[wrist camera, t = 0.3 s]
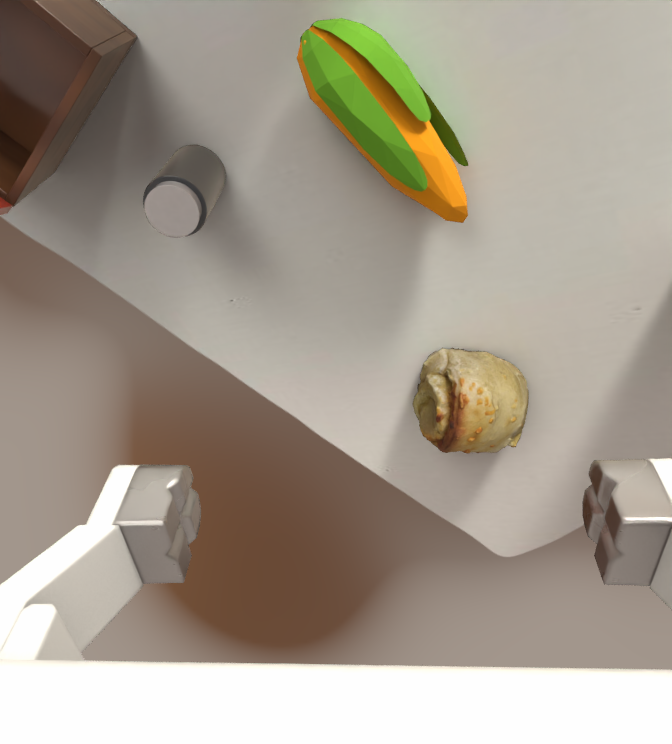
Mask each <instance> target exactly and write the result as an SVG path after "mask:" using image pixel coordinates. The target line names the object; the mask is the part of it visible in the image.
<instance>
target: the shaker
mask: <svg viewBox="0 0 672 744" xmlns="http://www.w3.org/2000/svg"><path fill="white" fill-rule="evenodd" d="M225 180H226V174H225V169H224V166H223V164H222V162H221V160H220V159H219V158H218V156H217V155H216V154H215V153H214V152H212V151H211V150H209V149H207V148H205V147H203V146H200V145H187V146H184V147H181V148H180V149H178V150H177V151H176V152H175V153H174V154H173V155H172V157H171V158H170V159H169V160H168V161H167V163H166V164H165V165H164V166H163V168H162V169H161V170H160V171H159V173H158V174H157V175H156V176H155V178H154V179H153V180H152V181H151V182H150V184H149V185H148V186H147V188H146V190H145V192H144V196H143V205H144V209H145V214H146V217H147V219H148V221H149V223H150V224H151V225H152V226H153V227H154V228H155V229H156V230H157V231H158V232H160V233H162V234H163V235H166V236H169V237H177V238H178V237H184V236H189V235H192V234H194V233H196V232H197V231H199V230H200V229H201V228H202V226H203V225H204V223H205V221H206V219H207V217H208V216H209V214H210V212H211V210H212V208H213V206H214V204H215V203H216V201H217V199H218V197H219V195H220V193H221V191H222V190H223V188H224V185H225Z"/></svg>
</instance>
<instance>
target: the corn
mask: <svg viewBox="0 0 672 744" xmlns="http://www.w3.org/2000/svg"><path fill="white" fill-rule="evenodd" d="M297 60H298V63H299V66H300V69H301V72H302V75H303V78H304V81H305V84H306V87H307V90H308V93H309V97H310V99H311V100H312V101H313V102H314V103H315V104H316V105H317V106H318V107H319V108H320V109H321V110H322V111H323V113H324V114H325V115H326V116H327V117H328V118H329V119H330V120H331V121H332V122H333V123H334V124H335V126H336V127H337V128H338V129H339V130H340V131H341V132H342V133H343V134H344V135H345V136H346V137H347V138H348V140H349V141H350V142H351V143H352V144H353V145H354V146H355V147H356V148H357V149H358V150H359V151H360V153H361V154H362V155H363V156H364V157H365V158H366V159H367V160H368V161H369V162H370V163H371V164H372V165H373V167H374V168H375V169H376V170H377V171H378V172H379V173H380V174H381V175H382V176H383V177H384V178H385V179H386V181H387V182H388V183H389V184H390V185H391V186H392V187H394V188H395V189H397V190H399V191H400V192H402V193H404V194H405V195H407V196H408V197H410V198H412V199H413V200H415V201H417V202H418V203H420V204H422V205H423V206H425V207H426V208H428V209H430V210H431V211H433V212H435V213H436V214H438V215H439V216H440V217H442V218H443V219H445V220H447V221H454V222H461V223H463V222H464V220H465V219H466V217H467V216H468V212H467V198H466V194H465V191H464V188H463V185H462V182H461V180H460V177H459V174H458V171H457V168H456V166H455V164H454V162H453V160H452V159H451V157H450V155H449V154H448V152H447V150H448V151H449V153H450V154H451V155H452V156H453V157H454V159H455V160H456V161H457V162H458V163H459V164H461V165H463V166H468V162H467V160H466V157H465V155H464V153H463V151H462V148H461V146H460V144H459V142H458V140H457V138H456V136H455V134H454V132H453V131H452V129H451V128H450V126H449V125H448V124H447V122H446V121H445V119H444V118H443V116H442V115H441V113H440V112H439V111H438V109H437V108H436V106H435V105H434V103H433V102H432V100H431V99H430V98H429V96H428V95H427V94H426V93H425V91H424V90H423V89H422V88H421V87H420V85H419V84H418V83H417V81H416V79H415V78H414V76H413V74H412V73H411V71H410V69H409V68H408V66H407V65H406V64H405V63H404V61H403V60H402V59H401V58H400V57H399V56H398V54H397V53H396V52H395V51H394V50H393V49H392V48H391V46H390V45H389V44H388V43H387V42H386V41H385V39H384V38H383V37H382V36H381V35H380V34H378V33H377V32H375V31H373V30H372V29H370V28H368V27H367V26H365V25H363V24H360V23H357V22H353V21H349V20H346V19H342V18H340V19H330V20H320V21H316V22H315V23H314V24H312V26H311V28H310V29H308V30H306V31H305V32H304V33H303V35H302V36H301V40H300V48H299V52H298V56H297ZM444 146H445V147H444ZM446 149H447V150H446Z"/></svg>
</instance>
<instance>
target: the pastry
mask: <svg viewBox="0 0 672 744" xmlns="http://www.w3.org/2000/svg"><path fill="white" fill-rule="evenodd" d="M420 380H421V382H420V384H418V393H417V394H416V396H415V398H414V401H413V407H414V412H415V414H416V416H417V418H418V420H419V423H420V424H419V426H420V429H421V432H422V434H423V436H424V437H425V438H426V439H427V440H429V441H430V442H431V443H432V444H433V445H435V446H436V447H437V448H438V449H439V450H440V451H442V452H445V453H448V452H457V451H462V452H464V453H470V452H476V453H479V452H489V453H495V452H498V451H499V450H501V449H502V448H505V447H506V445H509V446H511V447H516V444H517V442H518V441H519V439H520V436H521V433H522V429H523V427H524V424H525V420H526V414H527V408H528V395H529V391H528V389H527V382H526V380H525V378H524V376H523V375H522V373H521V372H520V370H519V369H518V368H516V367H515V366H514V365H513V364H511V363H509V362H507V361H505V360H504V359H500V358H498V357H496V356H494V355H492V354H490V353H488V352H481V351H480V352H479V351H476V352H474V351H473V352H472V351H466V350H465V351H464V349H461V350H459V348H458V349H454V348H451V349H444V348H442V349H441V350H439V351H438V352H437V351H435V352H433V353H432V354H430V356H429V357H428V360H427V361H426V362H425V363H424V364H423V368H422V372H421V374H420Z"/></svg>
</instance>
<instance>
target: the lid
mask: <svg viewBox="0 0 672 744" xmlns="http://www.w3.org/2000/svg"><path fill="white" fill-rule="evenodd" d="M12 207H13V206H12V205H11V204H10V203H8V202H7V201H5V200H4V199H2V198H1V197H0V215H3V214H7V213H8V212H9V211H10V209H11V208H12Z"/></svg>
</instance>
